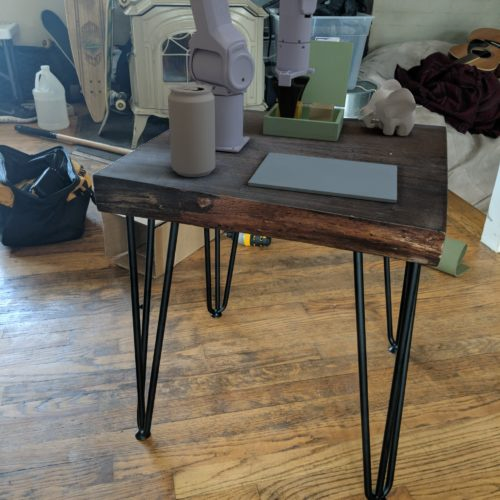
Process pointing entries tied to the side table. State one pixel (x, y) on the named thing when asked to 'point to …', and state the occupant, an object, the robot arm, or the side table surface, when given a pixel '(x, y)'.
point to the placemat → (327, 177)
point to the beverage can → (192, 129)
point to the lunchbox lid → (328, 72)
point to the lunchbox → (303, 125)
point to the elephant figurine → (391, 109)
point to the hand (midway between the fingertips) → (289, 118)
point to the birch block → (321, 112)
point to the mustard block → (297, 113)
